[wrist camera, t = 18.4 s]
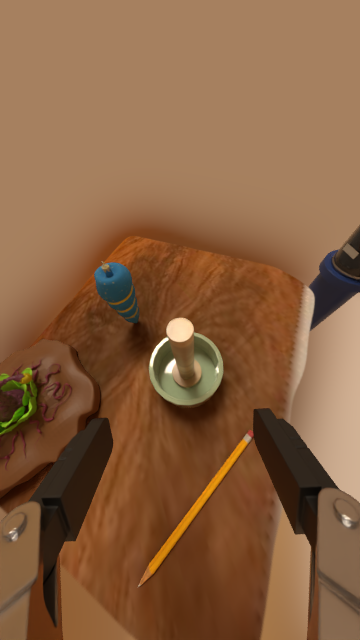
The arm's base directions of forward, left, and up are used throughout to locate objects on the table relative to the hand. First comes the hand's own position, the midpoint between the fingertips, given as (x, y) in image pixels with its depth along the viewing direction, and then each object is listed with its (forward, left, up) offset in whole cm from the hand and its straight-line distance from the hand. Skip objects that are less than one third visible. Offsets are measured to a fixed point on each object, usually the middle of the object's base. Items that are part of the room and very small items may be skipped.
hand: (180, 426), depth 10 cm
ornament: (+6, -19, -18) cm, 27 cm away
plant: (+24, -8, -18) cm, 31 cm away
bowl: (-1, -7, -18) cm, 19 cm away
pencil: (0, +8, -18) cm, 19 cm away
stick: (-1, -7, -17) cm, 19 cm away
